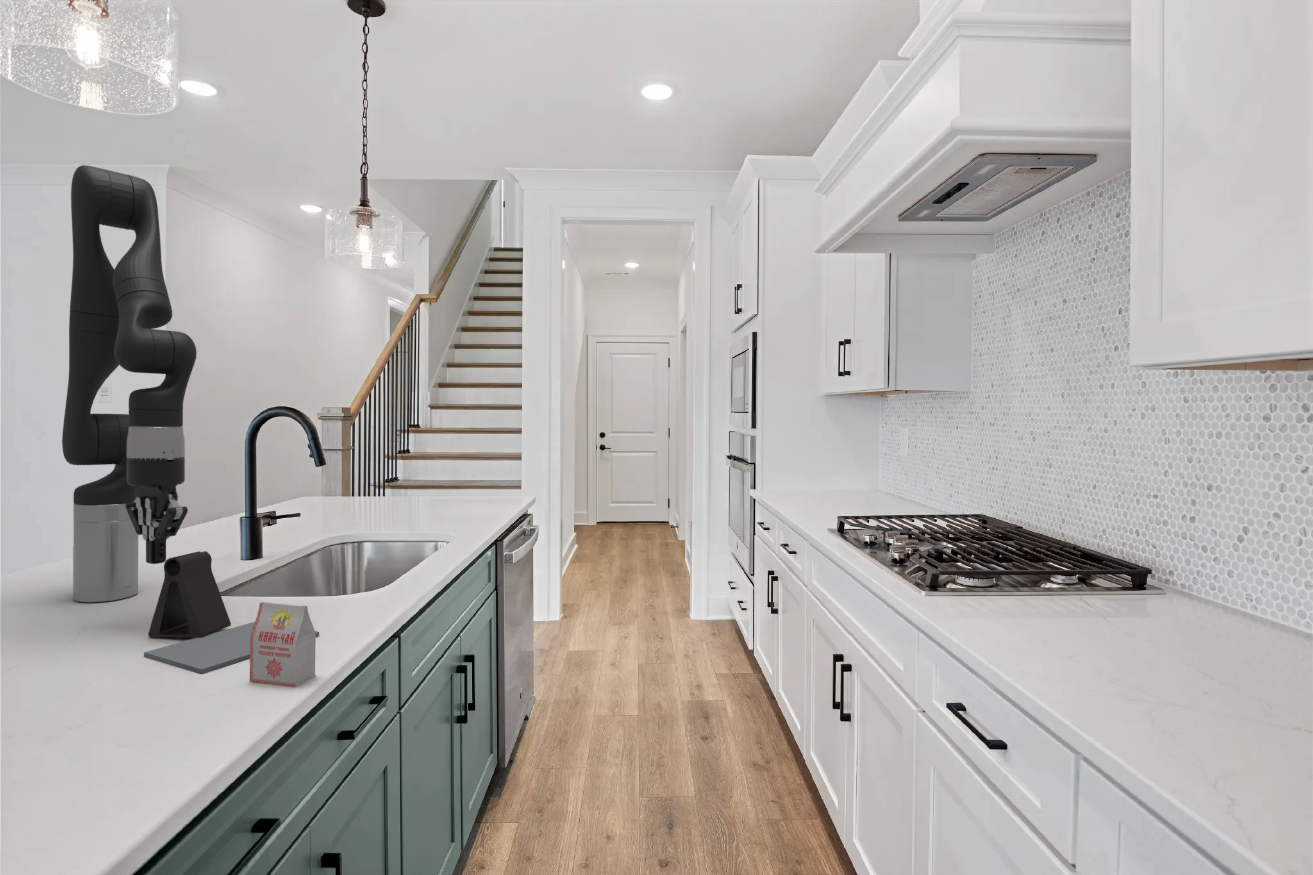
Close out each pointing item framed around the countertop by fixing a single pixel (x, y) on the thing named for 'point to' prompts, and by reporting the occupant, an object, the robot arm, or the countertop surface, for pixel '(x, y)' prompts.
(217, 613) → the phone stand
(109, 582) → the robot arm
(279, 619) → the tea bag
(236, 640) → the mat
